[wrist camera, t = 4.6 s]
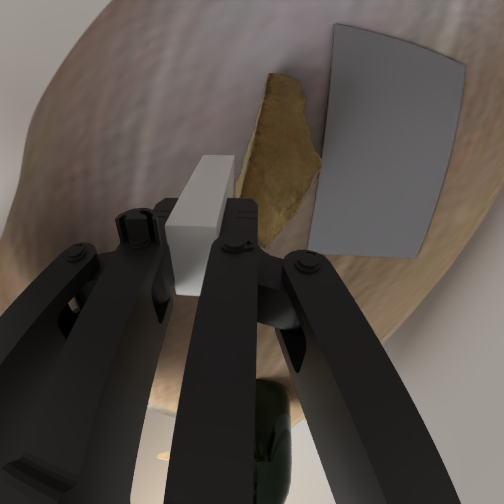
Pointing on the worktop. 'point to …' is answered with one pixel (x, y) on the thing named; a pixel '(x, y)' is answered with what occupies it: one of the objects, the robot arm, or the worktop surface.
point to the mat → (383, 145)
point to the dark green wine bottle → (272, 444)
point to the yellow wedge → (278, 158)
